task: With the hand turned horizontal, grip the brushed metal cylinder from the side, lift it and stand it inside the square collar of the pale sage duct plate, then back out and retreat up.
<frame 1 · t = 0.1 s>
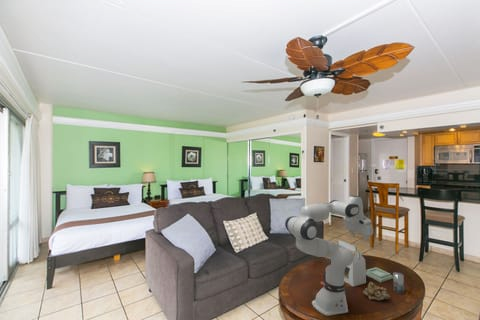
hand: (359, 238, 152), 39 cm above the table, tool pointing down, fingers open, 8 cm apart
mineral formation: (377, 298, 147), on the table
gable box: (347, 278, 174), on the table
duct plate: (378, 276, 176), on the table
brushed metal cylinder: (398, 291, 154), on the table
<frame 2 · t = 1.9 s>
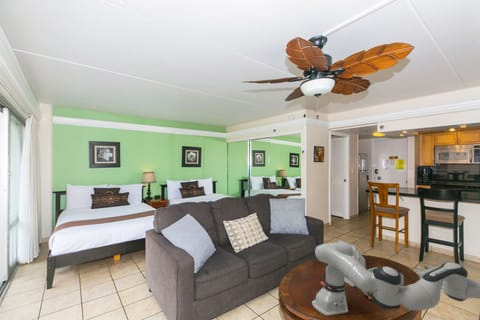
hand: (419, 268, 141), 22 cm above the table, tool horizontal, fingers open, 8 cm apart
nothing on the table moved.
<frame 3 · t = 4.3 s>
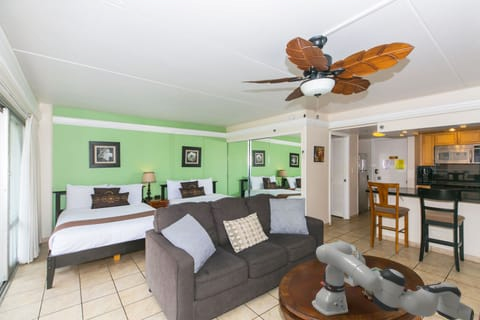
hand: (412, 288, 147), 6 cm above the table, tool horizontal, fingers open, 8 cm apart
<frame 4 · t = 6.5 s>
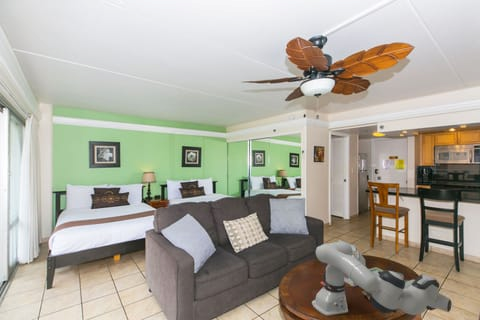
hand: (397, 281, 155), 7 cm above the table, tool horizontal, fingers closed on brushed metal cylinder, 6 cm apart
brushed metal cylinder: (398, 291, 154), on the table, touching gripper
everything else where it was.
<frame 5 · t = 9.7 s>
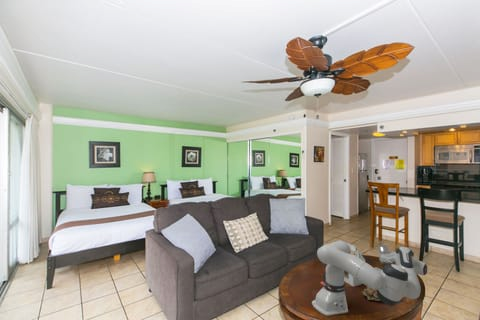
hand: (382, 253, 172), 20 cm above the table, tool horizontal, fingers closed on brushed metal cylinder, 6 cm apart
brushed metal cylinder: (383, 262, 171), point 13 cm above the table, touching gripper
when the fingers open (9 cm above the table, at t = 13.3 s): brushed metal cylinder stays where it is, resting on duct plate.
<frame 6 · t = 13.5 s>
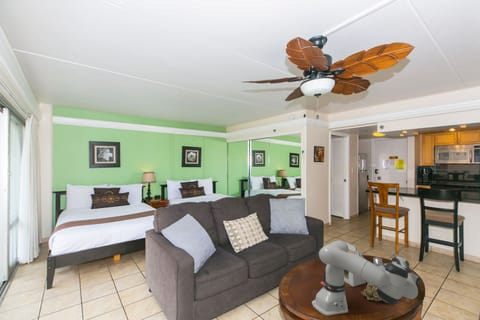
hand: (376, 264, 177), 9 cm above the table, tool horizontal, fingers open, 8 cm apart
brushed metal cylinder: (378, 273, 176), point 2 cm above the table, touching duct plate
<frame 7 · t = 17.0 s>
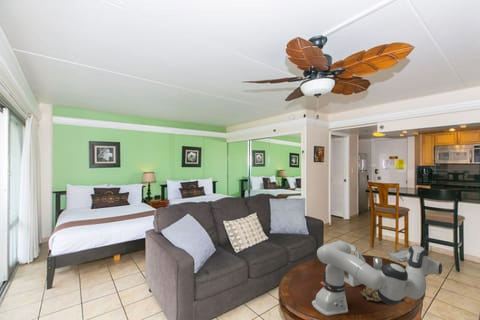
hand: (392, 251, 165), 24 cm above the table, tool horizontal, fingers open, 8 cm apart
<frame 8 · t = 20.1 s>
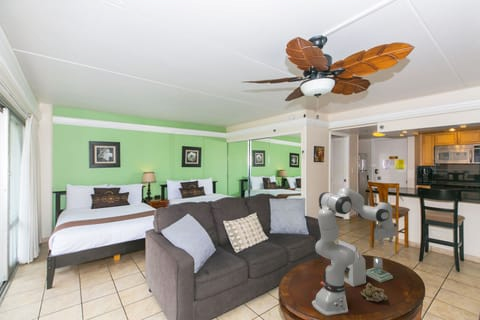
hand: (385, 243, 157), 33 cm above the table, tool pointing down, fingers open, 8 cm apart
at the end: brushed metal cylinder 0.1 cm off-centre on the duct plate, point 2.0 cm above the duct plate's base; brushed metal cylinder tilted 1°; the gripper is holding nothing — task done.
